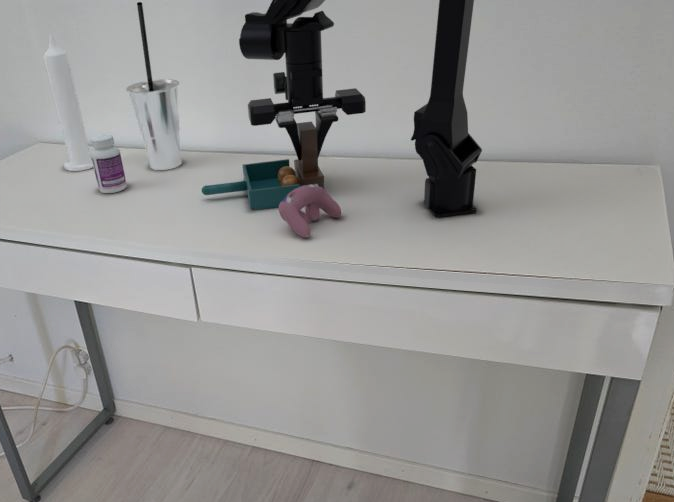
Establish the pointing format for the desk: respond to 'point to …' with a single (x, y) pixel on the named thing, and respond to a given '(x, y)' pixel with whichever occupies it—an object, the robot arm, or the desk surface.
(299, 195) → the video game controller
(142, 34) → the tumbler with straw
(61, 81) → the candle
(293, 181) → the ball near
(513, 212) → the desk surface
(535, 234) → the desk surface
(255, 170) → the dustpan
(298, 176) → the brown thick angular block
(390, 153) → the desk surface
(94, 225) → the desk surface
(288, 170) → the ball far
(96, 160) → the pill bottle
